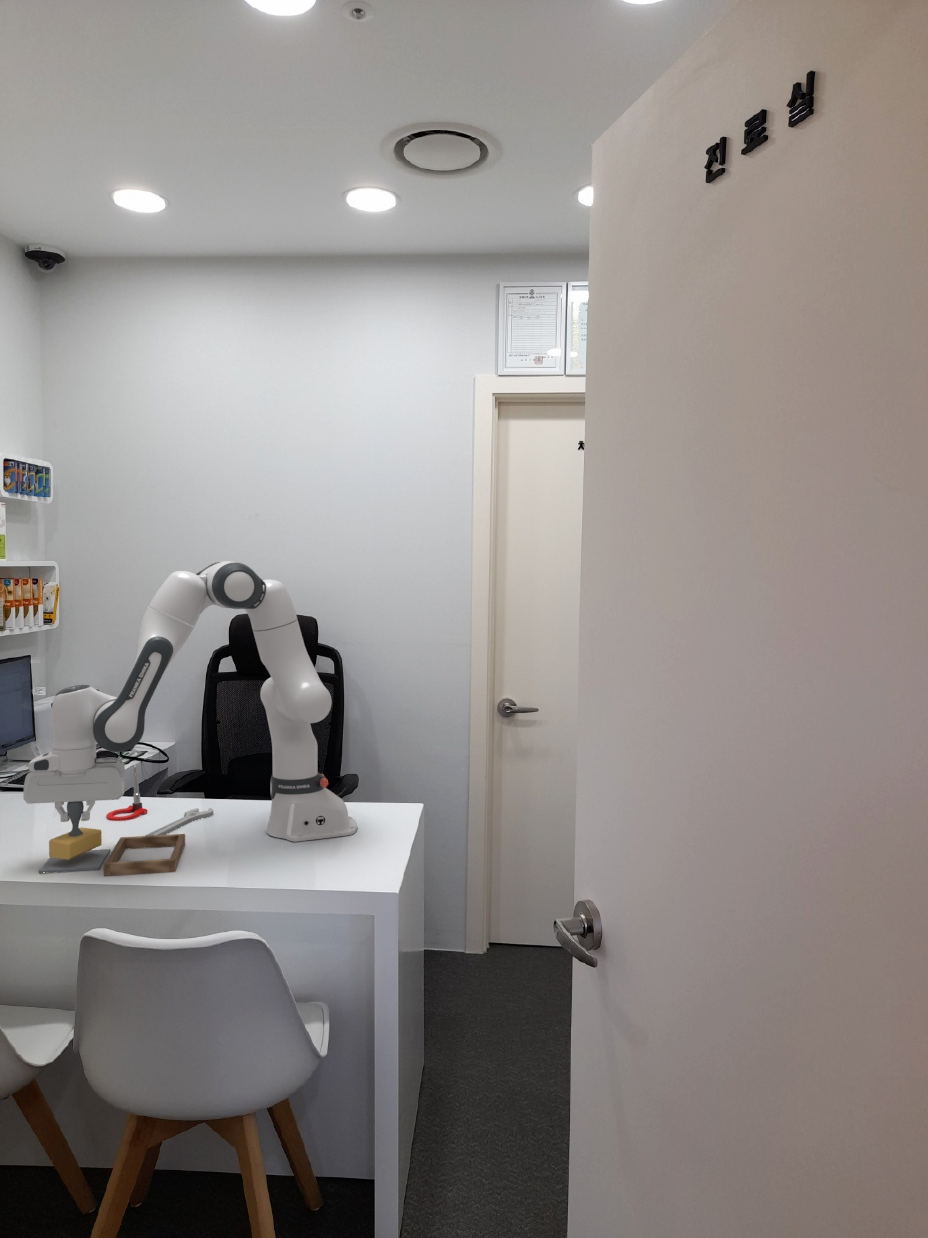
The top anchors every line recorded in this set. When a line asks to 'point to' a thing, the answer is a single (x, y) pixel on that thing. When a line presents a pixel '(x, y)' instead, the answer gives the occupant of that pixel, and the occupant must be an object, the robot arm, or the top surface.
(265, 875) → the top surface
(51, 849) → the rubber stamp
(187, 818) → the adjustable wrench
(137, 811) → the tow hook
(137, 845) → the wooden frame
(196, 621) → the robot arm
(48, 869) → the slate mat
